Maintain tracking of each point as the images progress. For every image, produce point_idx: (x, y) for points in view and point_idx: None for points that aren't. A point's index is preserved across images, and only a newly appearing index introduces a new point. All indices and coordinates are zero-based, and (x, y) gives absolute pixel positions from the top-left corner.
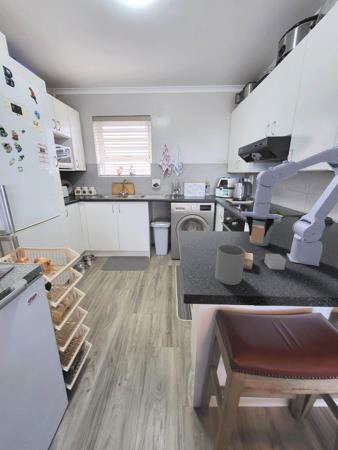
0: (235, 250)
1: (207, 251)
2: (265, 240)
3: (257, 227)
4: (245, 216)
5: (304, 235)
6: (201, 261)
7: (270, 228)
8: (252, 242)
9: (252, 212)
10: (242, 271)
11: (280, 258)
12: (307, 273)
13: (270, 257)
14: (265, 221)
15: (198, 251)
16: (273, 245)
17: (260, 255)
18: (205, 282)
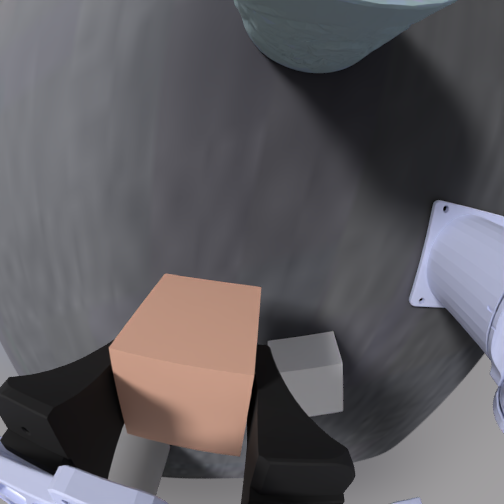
0: (116, 482)
1: (24, 273)
2: (350, 60)
3: (171, 430)
4: (6, 450)
5: (497, 418)
6: (42, 362)
7: (418, 21)
8: (254, 43)
9: (15, 482)
10: (162, 472)
11: (323, 405)
12: (409, 377)
13: None
14: (252, 461)
15: (3, 282)
16: (402, 51)
17: (270, 255)
18: None
